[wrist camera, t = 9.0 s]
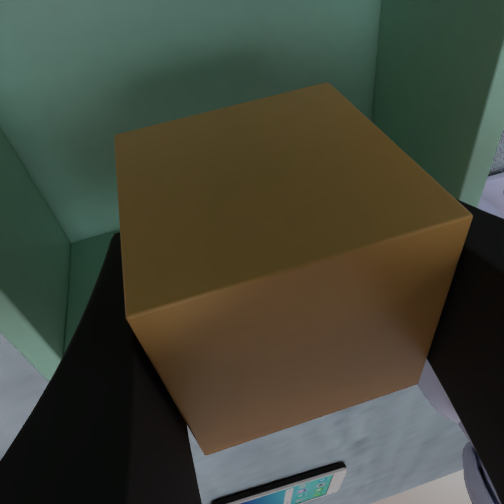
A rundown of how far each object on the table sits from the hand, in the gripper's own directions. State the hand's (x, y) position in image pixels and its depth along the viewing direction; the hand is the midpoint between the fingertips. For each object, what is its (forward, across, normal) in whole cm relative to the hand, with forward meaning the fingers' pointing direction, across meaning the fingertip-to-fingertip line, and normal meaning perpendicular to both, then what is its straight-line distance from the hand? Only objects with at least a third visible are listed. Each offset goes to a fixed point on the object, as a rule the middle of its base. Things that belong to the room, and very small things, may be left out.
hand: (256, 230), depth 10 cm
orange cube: (+1, 0, 0) cm, 1 cm away
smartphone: (+7, +1, +45) cm, 46 cm away
